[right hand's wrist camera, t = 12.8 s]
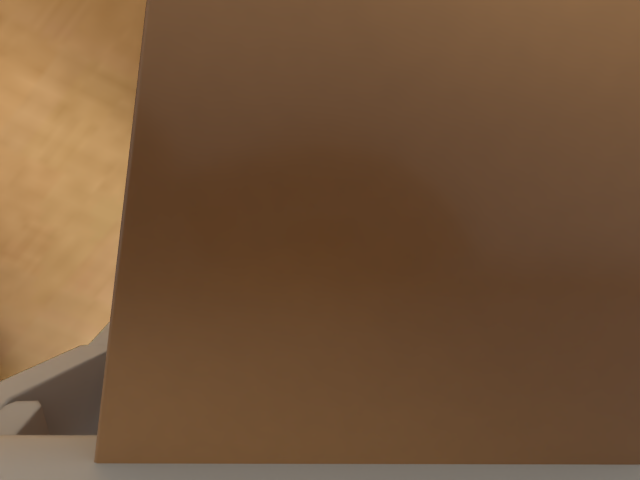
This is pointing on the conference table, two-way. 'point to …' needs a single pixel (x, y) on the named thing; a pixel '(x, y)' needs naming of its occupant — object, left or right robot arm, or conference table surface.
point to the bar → (380, 235)
